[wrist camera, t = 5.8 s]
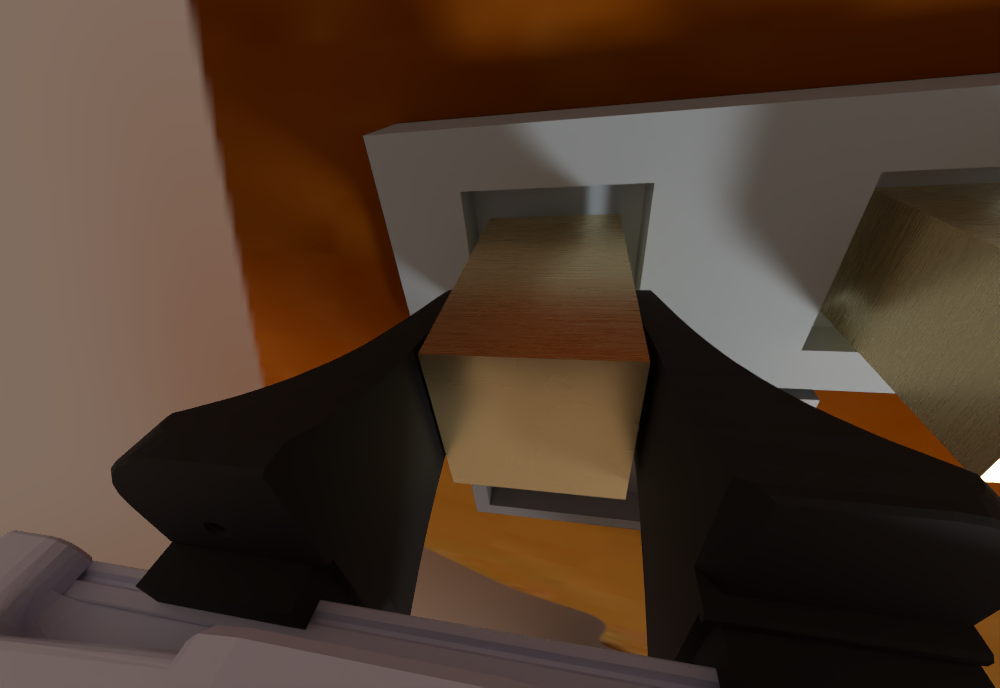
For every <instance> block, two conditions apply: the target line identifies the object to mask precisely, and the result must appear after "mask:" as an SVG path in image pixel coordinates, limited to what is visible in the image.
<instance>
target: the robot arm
mask: <svg viewBox="0 0 1000 688" xmlns="http://www.w3.org/2000/svg"><path fill="white" fill-rule="evenodd" d="M451 291H452V290H448V291H447V292H445V293H443V294H442V295H440V296H438V297H437V298H436V299H434V300H433V301H431V302H430V303H428V304H427V305H425V306H424V307H423V308H421V309H420V310H418V311H417V312H415V313H414V314H412V315H411V316H409V317H408V318H407V319H405V320H404V321H402V322H401V323H399V324H397V325H396V326H394V327H393V328H391V329H389V330H388V331H386V332H385V333H383V334H381V335H380V336H378V337H377V338H375V339H373V340H372V341H370V342H368V343H366V344H365V345H363V346H361V347H359V348H357V349H355V350H353V351H351V352H349V353H347V354H345V355H343V356H341V357H339V358H337V359H335V360H333V361H331V362H329V363H326V364H324V365H321V366H319V367H317V368H314V369H312V370H309V371H307V372H305V373H302V374H300V375H298V376H295V377H293V378H290V379H287V380H284V381H282V382H279V383H276V384H273V385H270V386H267V387H264V388H261V389H259V390H255V391H252V392H249V393H246V394H243V395H239V396H236V397H233V398H229V399H225V400H221V401H217V402H214V403H210V404H207V405H202V406H199V407H195V408H192V409H188V410H184V411H180V412H175V413H172V414H171V415H169V416H168V417H166V418H165V419H164V420H163V421H162V422H161V423H159V424H158V425H157V426H156V427H155V428H154V429H152V430H151V431H150V432H149V433H148V434H147V435H146V436H144V437H143V438H142V439H141V440H140V441H139V442H138V443H136V444H135V445H134V446H133V447H132V448H131V449H129V450H128V451H127V452H126V453H125V454H124V455H123V456H121V457H120V458H119V459H118V460H117V461H116V462H115V463H114V465H113V466H112V468H111V475H112V482H113V485H114V486H115V488H116V490H117V491H118V493H119V494H120V495H121V496H122V497H123V498H124V500H126V501H127V503H129V505H131V506H132V507H133V508H134V509H135V510H136V511H137V512H138V513H140V514H141V515H142V516H143V517H144V518H145V519H146V520H148V521H149V522H150V523H151V524H152V525H153V526H154V527H156V528H157V529H158V530H159V531H160V532H161V533H162V534H164V535H165V536H166V537H167V538H168V539H169V540H170V541H172V543H171V544H170V546H169V547H168V548H167V549H166V550H165V551H164V553H163V554H162V555H161V556H160V557H159V559H158V560H157V561H156V562H155V563H154V564H153V566H152V567H151V568H150V569H149V570H144V569H138V568H133V567H127V566H121V565H115V564H109V563H103V562H98V561H92V557H91V556H90V555H88V554H87V553H86V552H85V551H83V550H82V549H80V548H79V547H77V546H75V545H74V544H72V543H70V542H68V541H65V540H63V539H61V538H57V537H53V536H47V535H41V534H35V533H29V532H23V531H17V530H16V531H11V532H7V533H6V534H4V535H3V536H2V537H1V538H0V688H995V687H994V685H993V683H992V682H991V680H990V679H989V677H988V676H987V674H986V673H985V671H984V670H983V668H982V667H981V666H989V665H991V664H993V663H994V655H993V653H992V652H991V650H990V649H989V647H988V646H987V644H986V643H985V641H984V640H983V638H982V637H981V635H980V634H979V632H978V631H977V630H976V628H975V627H974V625H975V624H977V623H979V622H980V621H982V620H983V619H985V618H987V617H988V616H990V615H992V614H993V613H995V612H996V611H998V610H1000V497H999V496H998V495H997V494H996V493H995V492H994V491H993V490H992V489H991V487H990V486H989V485H988V484H987V483H986V482H985V481H984V480H983V479H982V478H981V477H980V476H979V475H978V474H976V473H974V472H971V471H968V470H966V469H963V468H960V467H958V466H955V465H952V464H950V463H947V462H945V461H942V460H939V459H937V458H934V457H931V456H929V455H926V454H924V453H921V452H918V451H916V450H913V449H910V448H908V447H905V446H902V445H900V444H897V443H895V442H892V441H889V440H887V439H884V438H882V437H880V436H877V435H875V434H873V433H870V432H868V431H866V430H863V429H861V428H859V427H857V426H854V425H852V424H850V423H848V422H845V421H843V420H841V419H838V418H836V417H834V416H832V415H830V414H828V413H826V412H824V411H822V410H819V409H817V408H815V407H813V406H811V405H809V404H807V403H805V402H803V401H802V400H800V399H798V398H796V397H794V396H792V395H790V394H788V393H786V392H785V391H783V390H781V389H779V388H777V387H775V386H774V385H772V384H770V383H768V382H767V381H765V380H763V379H761V378H760V377H758V376H757V375H755V374H753V373H752V372H750V371H749V370H747V369H746V368H744V367H742V366H741V365H739V364H738V363H736V362H735V361H733V360H732V359H730V358H729V357H727V356H726V355H725V354H723V353H722V352H721V351H719V350H718V349H717V348H715V347H714V346H713V345H711V344H710V343H709V342H708V341H706V340H705V339H704V338H702V337H701V336H700V335H699V334H698V333H696V332H695V331H694V330H693V329H692V328H691V327H689V326H688V325H687V324H686V323H685V322H684V321H683V320H682V319H680V318H679V317H678V316H677V315H676V314H675V313H674V312H673V311H672V310H671V309H670V308H669V307H668V306H667V305H666V304H665V303H664V302H663V301H662V300H661V299H660V298H659V297H658V296H657V295H655V294H654V293H653V292H652V291H651V290H635V291H636V296H637V300H638V305H639V310H640V315H641V320H642V325H643V329H644V334H645V339H646V344H647V349H648V354H649V358H650V367H649V372H648V378H647V384H646V389H645V395H644V400H643V406H642V411H641V417H640V422H639V428H638V433H637V439H636V444H635V450H634V462H635V469H636V477H637V489H638V501H639V513H640V527H641V541H642V555H643V572H644V588H645V605H646V626H647V646H648V656H642V655H636V654H630V653H624V652H619V651H613V650H606V649H601V648H595V647H590V646H584V645H578V644H572V643H566V642H561V641H555V640H549V639H543V638H537V637H531V636H526V635H520V634H514V633H508V632H503V631H497V630H491V629H485V628H480V627H474V626H467V625H462V624H457V623H450V622H444V621H439V620H433V619H427V618H422V617H416V616H410V613H411V608H412V603H413V598H414V592H415V587H416V582H417V576H418V571H419V566H420V560H421V556H422V551H423V547H424V542H425V537H426V533H427V528H428V523H429V519H430V515H431V511H432V506H433V502H434V498H435V494H436V489H437V485H438V482H439V478H440V474H441V470H442V466H443V462H444V458H445V455H446V452H445V449H444V445H443V442H442V438H441V435H440V431H439V428H438V424H437V420H436V417H435V413H434V410H433V406H432V403H431V399H430V396H429V392H428V388H427V385H426V381H425V378H424V374H423V371H422V367H421V363H420V360H419V356H418V353H419V351H420V349H421V347H422V345H423V343H424V342H425V340H426V338H427V336H428V334H429V332H430V330H431V328H432V327H433V325H434V323H435V321H436V319H437V317H438V315H439V313H440V312H441V310H442V308H443V306H444V304H445V302H446V300H447V298H448V297H449V295H450V293H451Z"/></svg>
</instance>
